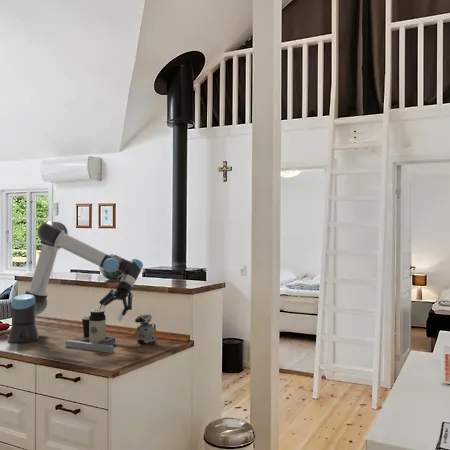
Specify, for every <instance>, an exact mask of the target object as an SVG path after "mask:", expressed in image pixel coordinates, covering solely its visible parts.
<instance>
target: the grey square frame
mask: <svg viewBox="0 0 450 450" xmlns="http://www.w3.org/2000/svg"><path fill="white" fill-rule="evenodd" d="M80 342H88V343H89V338H88V337H84V338H82V339H80ZM99 344H104V345H112V346H115V345H116V337H113V336H106V335H105V340H104V341H101V342H99Z"/></svg>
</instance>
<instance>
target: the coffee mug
mask: <svg viewBox="0 0 450 450" xmlns="http://www.w3.org/2000/svg"><path fill="white" fill-rule="evenodd" d="M89 317H90V316H85V317H82V318H81V322H82V329H83V338H89Z"/></svg>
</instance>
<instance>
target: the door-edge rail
mask: <svg viewBox="0 0 450 450" xmlns="http://www.w3.org/2000/svg"><path fill="white" fill-rule="evenodd" d="M65 347H66V348H72V349H80V350H86V351H87V350H88V351H95V352H101V353H109V354H112V353H114V345H104V344H96V343H88V342H81V340H80V341H79V340H72V339H71V340H70V339H67V340H65Z"/></svg>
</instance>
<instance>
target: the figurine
mask: <svg viewBox="0 0 450 450" xmlns="http://www.w3.org/2000/svg"><path fill="white" fill-rule="evenodd" d="M152 318H153V315H151V314H143V315H142V314H140V315H138V316H137V317H136V318H135V319H134V322H135V323H138V324H139V323H140V325H139V326H137V328H136V329H137V330H135V331H136V332H134V337H137V341H136V342H137V343H139V344H140V343H143V342H145V341H148V345H149V346H150V345H151V346H152V345H155V344H157V343H156V342H157V341H156V336H155V334H154V331H155V332H156V331H157V327H156V324H155V323H154V322H152V323H150V322H151V321H152ZM137 334H138V335H137Z"/></svg>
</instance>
